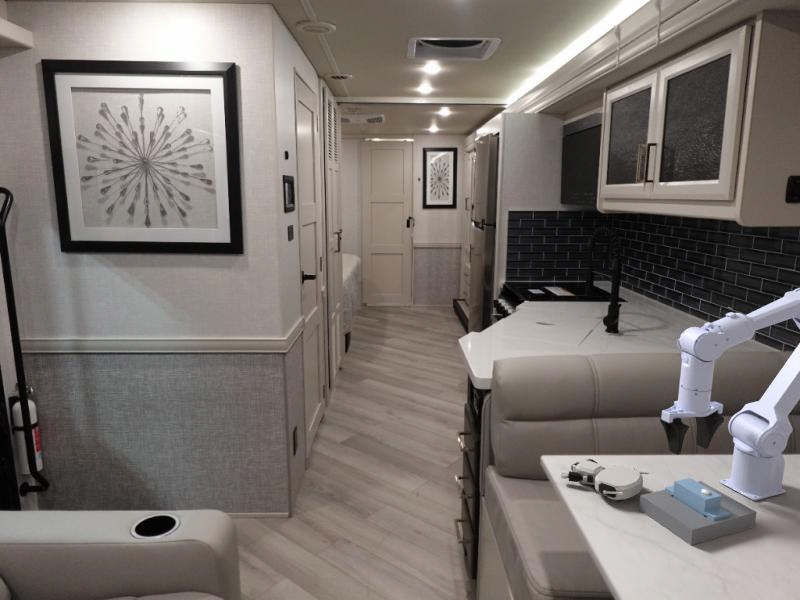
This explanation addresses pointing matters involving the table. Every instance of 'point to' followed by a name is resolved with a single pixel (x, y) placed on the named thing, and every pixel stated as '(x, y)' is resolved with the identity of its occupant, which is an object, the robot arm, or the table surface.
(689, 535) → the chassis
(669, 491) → the block
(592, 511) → the table surface
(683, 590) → the table surface
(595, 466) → the robot toy
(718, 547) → the table surface
